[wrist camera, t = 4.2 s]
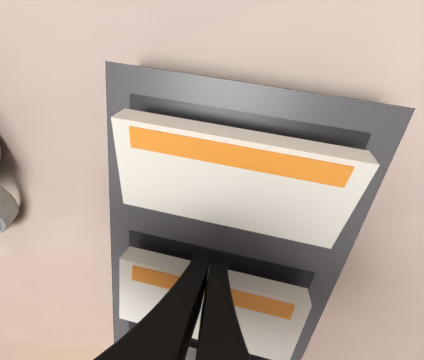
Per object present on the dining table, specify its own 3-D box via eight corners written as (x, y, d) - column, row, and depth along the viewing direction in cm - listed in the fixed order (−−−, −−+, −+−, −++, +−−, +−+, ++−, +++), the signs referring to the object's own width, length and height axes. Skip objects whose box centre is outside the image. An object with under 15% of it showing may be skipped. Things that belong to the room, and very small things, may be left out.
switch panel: (272, 370, 20) (274, 417, 17) (133, 331, 21) (114, 369, 18) (377, 102, 11) (415, 108, 9) (138, 66, 13) (104, 60, 10)
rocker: (325, 226, 11) (331, 250, 10) (136, 186, 12) (122, 204, 11) (366, 146, 9) (381, 166, 7) (128, 105, 10) (109, 117, 8)
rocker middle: (285, 339, 13) (288, 366, 12) (130, 298, 14) (118, 319, 13) (306, 283, 12) (312, 307, 10) (132, 242, 13) (118, 259, 11)
